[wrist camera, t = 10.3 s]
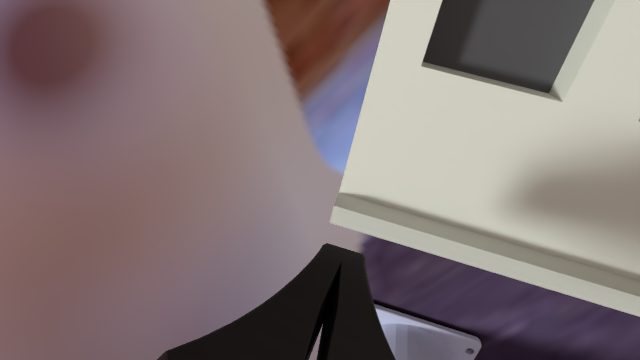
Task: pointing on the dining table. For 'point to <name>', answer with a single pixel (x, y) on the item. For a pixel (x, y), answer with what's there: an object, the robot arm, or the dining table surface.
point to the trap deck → (506, 141)
